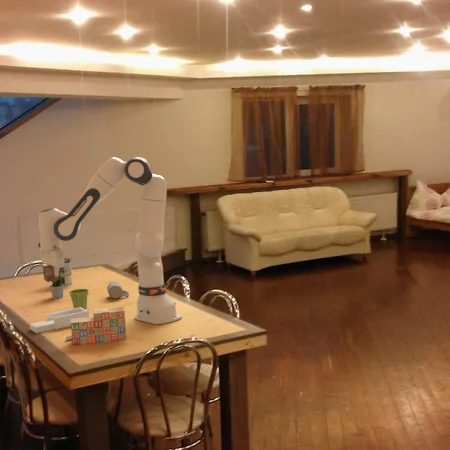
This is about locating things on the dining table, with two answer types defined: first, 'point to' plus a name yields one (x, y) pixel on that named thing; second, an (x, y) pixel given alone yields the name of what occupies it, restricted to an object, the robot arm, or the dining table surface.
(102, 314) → the stack of blocks
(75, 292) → the plant pot
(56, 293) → the house plant
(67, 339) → the steel rod
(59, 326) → the channel
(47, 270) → the walnut block
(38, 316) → the dining table surface
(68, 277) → the coffee can
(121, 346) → the dining table surface
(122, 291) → the ceramic mug
